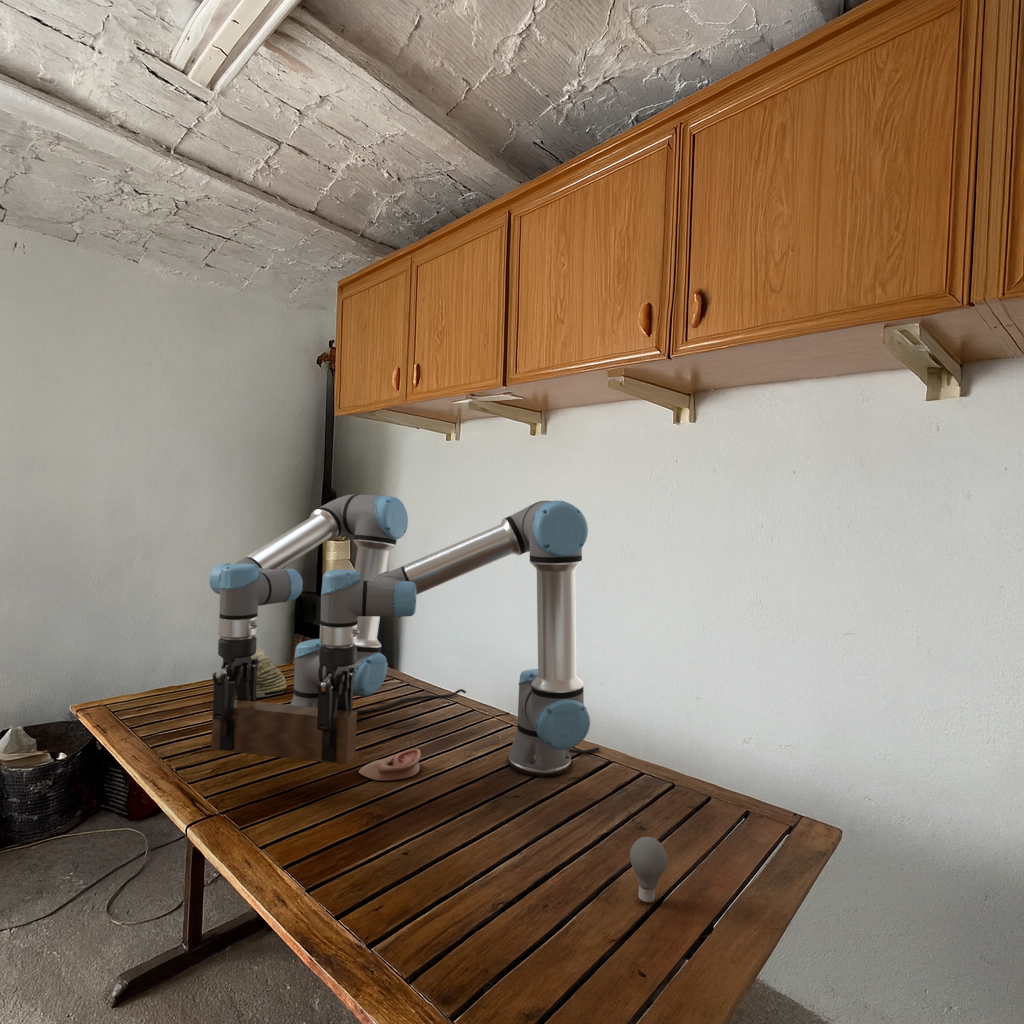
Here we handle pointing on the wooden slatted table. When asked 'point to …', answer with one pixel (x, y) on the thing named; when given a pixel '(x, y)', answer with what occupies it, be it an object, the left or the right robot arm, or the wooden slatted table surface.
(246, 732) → the bar
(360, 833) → the wooden slatted table surface
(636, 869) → the light bulb
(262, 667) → the fossil
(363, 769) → the anatomical model
